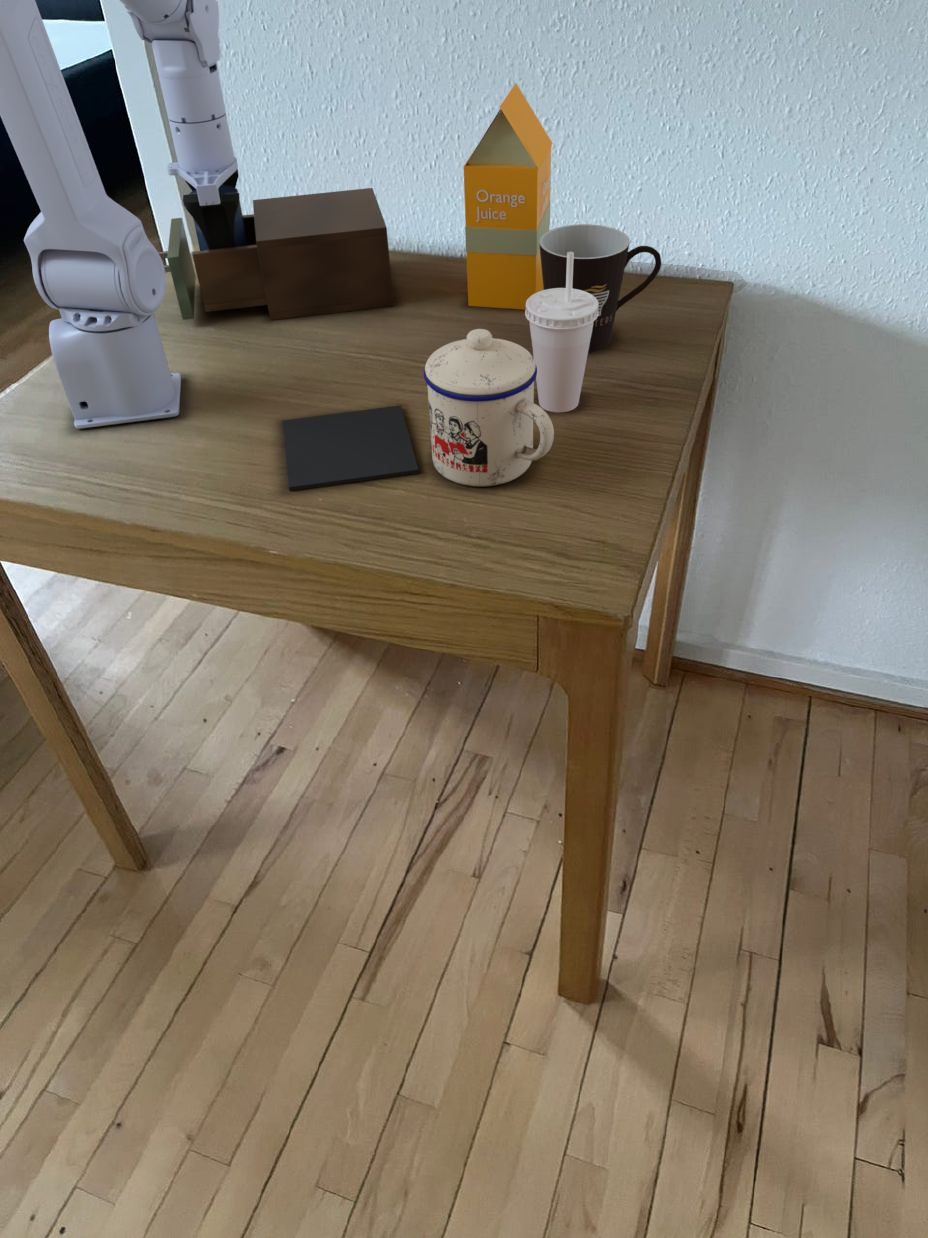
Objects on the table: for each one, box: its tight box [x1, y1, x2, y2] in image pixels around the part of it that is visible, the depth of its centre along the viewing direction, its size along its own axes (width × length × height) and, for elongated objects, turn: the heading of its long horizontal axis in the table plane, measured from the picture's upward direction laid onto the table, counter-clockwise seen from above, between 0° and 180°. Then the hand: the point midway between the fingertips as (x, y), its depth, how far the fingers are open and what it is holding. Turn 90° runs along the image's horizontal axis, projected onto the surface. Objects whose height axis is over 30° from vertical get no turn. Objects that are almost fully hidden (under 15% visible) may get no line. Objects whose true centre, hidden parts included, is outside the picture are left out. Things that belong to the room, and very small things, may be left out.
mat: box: [282, 404, 420, 492], centre depth 84 cm, size 11×11×1 cm
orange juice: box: [463, 82, 554, 311], centre depth 100 cm, size 8×9×20 cm
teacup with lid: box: [423, 328, 555, 487], centre depth 77 cm, size 12×9×12 cm
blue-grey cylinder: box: [188, 185, 248, 251], centre depth 103 cm, size 5×5×8 cm
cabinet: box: [252, 187, 394, 321], centre depth 106 cm, size 14×13×9 cm
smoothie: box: [524, 252, 599, 413], centre depth 84 cm, size 6×6×14 cm
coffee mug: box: [539, 223, 662, 354], centre depth 94 cm, size 12×9×10 cm
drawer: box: [157, 213, 268, 321], centre depth 105 cm, size 17×11×7 cm
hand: (225, 251), depth 104 cm, fingers closed on blue-grey cylinder, 5 cm apart
